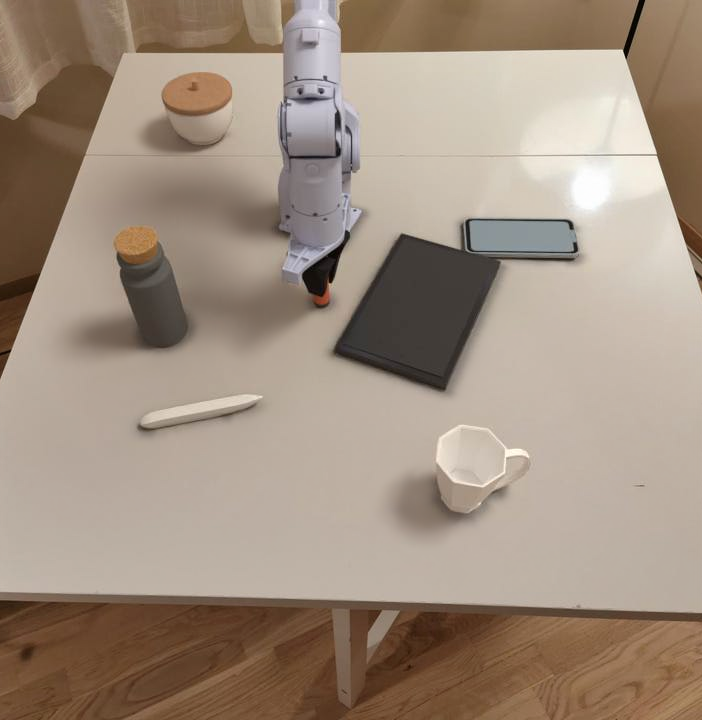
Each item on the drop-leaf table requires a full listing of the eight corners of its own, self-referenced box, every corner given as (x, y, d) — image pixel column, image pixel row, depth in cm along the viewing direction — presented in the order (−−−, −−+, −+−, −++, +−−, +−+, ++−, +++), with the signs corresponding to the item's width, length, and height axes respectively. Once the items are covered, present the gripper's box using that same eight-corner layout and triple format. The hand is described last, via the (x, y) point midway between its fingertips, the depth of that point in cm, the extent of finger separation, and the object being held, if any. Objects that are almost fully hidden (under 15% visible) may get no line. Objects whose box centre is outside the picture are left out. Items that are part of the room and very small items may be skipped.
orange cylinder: (311, 305, 90) (308, 259, 84) (318, 295, 91) (315, 249, 85) (325, 310, 89) (323, 264, 83) (332, 299, 91) (330, 253, 84)
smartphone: (463, 217, 99) (573, 218, 97) (462, 222, 99) (571, 223, 98) (465, 253, 94) (580, 254, 93) (465, 258, 95) (579, 260, 94)
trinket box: (209, 107, 118) (199, 54, 111) (251, 132, 114) (244, 78, 106) (158, 135, 114) (144, 81, 106) (200, 163, 109) (188, 108, 102)
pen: (265, 408, 80) (264, 400, 79) (141, 432, 79) (137, 424, 77) (263, 397, 81) (261, 389, 80) (140, 421, 80) (137, 412, 78)
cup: (419, 470, 75) (425, 429, 68) (510, 454, 76) (524, 412, 69) (437, 531, 71) (445, 493, 64) (533, 513, 72) (550, 474, 65)
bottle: (196, 318, 89) (172, 227, 77) (175, 353, 86) (146, 263, 74) (155, 308, 90) (125, 217, 78) (132, 341, 87) (97, 251, 75)
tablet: (334, 353, 85) (334, 346, 84) (400, 239, 97) (401, 232, 96) (445, 391, 81) (446, 384, 80) (499, 267, 93) (501, 260, 92)
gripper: (311, 154, 82) (316, 241, 93) (252, 230, 74) (265, 316, 85) (367, 168, 81) (366, 255, 91) (312, 248, 72) (318, 334, 83)
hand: (321, 286), depth 88 cm, fingers closed on orange cylinder, 2 cm apart
